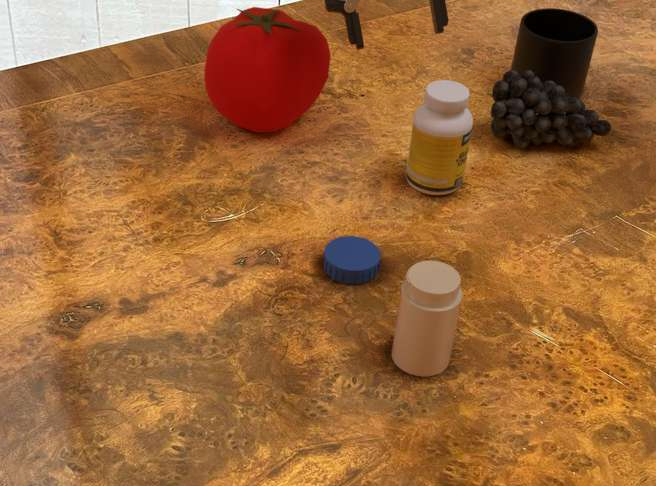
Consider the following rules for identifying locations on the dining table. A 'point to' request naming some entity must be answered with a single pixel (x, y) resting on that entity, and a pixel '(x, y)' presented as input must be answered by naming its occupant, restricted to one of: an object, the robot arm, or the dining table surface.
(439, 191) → the pill bottle
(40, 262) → the dining table surface
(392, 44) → the dining table surface
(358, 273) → the jar lid
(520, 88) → the fruit
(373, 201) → the dining table surface
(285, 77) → the tomato
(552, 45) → the black cylindrical cup
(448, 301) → the plain beige capped bottle
